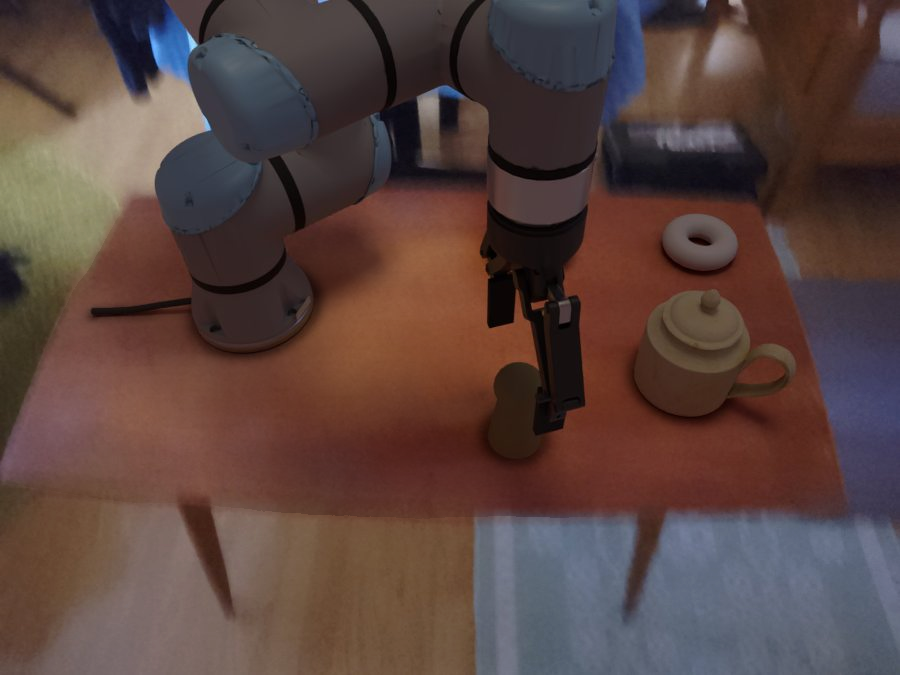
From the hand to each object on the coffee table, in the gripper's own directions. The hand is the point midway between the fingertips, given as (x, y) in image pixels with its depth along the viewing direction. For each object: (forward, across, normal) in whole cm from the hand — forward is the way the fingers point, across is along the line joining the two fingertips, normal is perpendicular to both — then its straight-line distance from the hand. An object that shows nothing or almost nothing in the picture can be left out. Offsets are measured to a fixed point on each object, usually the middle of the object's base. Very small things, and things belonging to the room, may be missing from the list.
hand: (522, 373), depth 67 cm
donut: (+12, +21, -34) cm, 42 cm away
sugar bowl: (+12, +1, -23) cm, 26 cm away
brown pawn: (+12, 0, 0) cm, 12 cm away
